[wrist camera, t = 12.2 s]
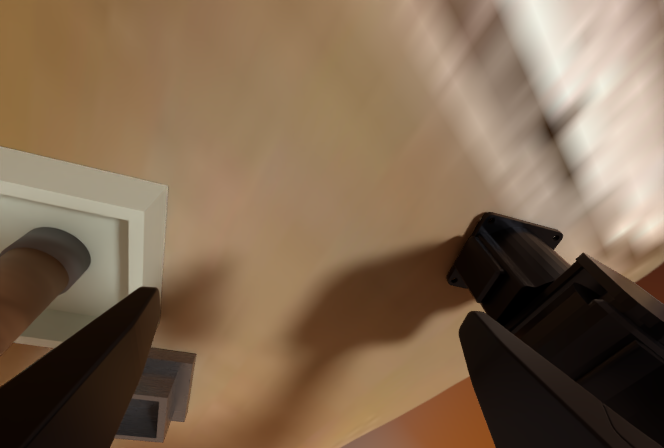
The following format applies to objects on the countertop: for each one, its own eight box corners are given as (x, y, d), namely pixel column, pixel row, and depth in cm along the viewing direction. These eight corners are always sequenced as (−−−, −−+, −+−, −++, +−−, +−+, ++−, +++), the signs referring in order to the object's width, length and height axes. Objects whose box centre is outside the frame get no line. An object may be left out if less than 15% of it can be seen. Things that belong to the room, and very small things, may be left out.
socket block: (196, 354, 29) (182, 391, 26) (187, 411, 33) (175, 450, 30) (83, 338, 27) (55, 376, 24) (89, 401, 31) (66, 440, 28)
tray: (168, 185, 21) (144, 211, 18) (159, 322, 27) (140, 359, 24) (-68, 130, 18) (-142, 149, 15) (-21, 294, 24) (-67, 332, 21)
